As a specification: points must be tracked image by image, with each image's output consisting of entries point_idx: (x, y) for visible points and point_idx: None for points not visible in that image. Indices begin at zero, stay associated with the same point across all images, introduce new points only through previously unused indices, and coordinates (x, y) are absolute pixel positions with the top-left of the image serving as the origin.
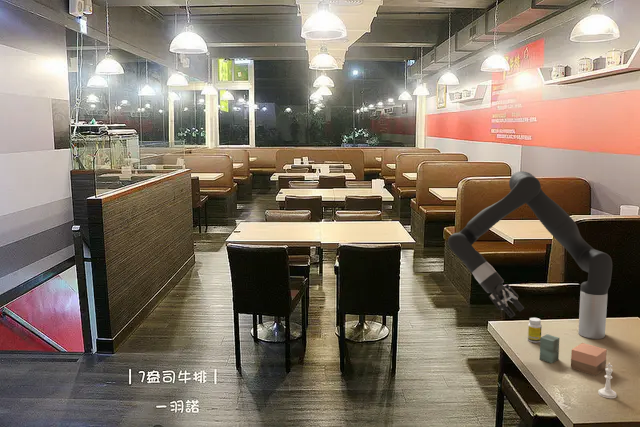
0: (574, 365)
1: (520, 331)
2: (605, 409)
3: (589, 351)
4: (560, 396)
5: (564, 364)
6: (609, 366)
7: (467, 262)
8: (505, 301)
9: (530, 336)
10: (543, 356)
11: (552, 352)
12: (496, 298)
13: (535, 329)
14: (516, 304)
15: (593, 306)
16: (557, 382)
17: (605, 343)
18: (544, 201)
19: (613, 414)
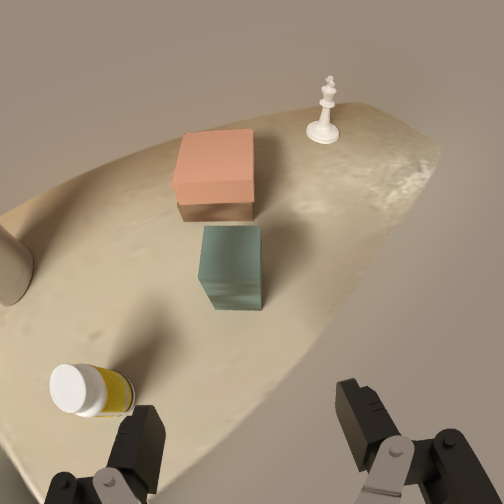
0: (252, 205)
1: (77, 455)
2: (375, 125)
3: (229, 148)
4: (408, 182)
5: None
6: (331, 81)
7: None
8: (381, 487)
9: (126, 400)
10: (261, 292)
11: (261, 250)
12: (492, 501)
13: (107, 380)
14: (150, 464)
15: None
16: (362, 208)
17: (48, 232)
18: None
19: (377, 117)
